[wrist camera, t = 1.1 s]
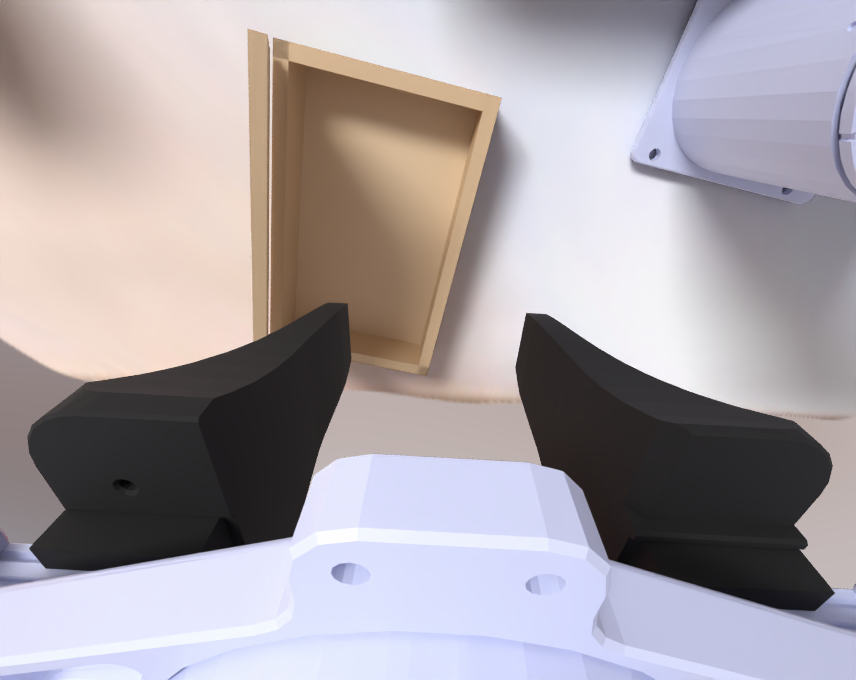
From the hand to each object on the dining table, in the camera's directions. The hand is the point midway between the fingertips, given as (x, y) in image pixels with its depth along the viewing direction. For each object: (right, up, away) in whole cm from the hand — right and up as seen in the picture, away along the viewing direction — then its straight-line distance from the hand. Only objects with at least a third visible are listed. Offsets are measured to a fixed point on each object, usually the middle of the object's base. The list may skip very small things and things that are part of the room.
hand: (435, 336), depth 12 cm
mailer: (-3, +6, +9) cm, 11 cm away
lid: (-6, +3, +3) cm, 8 cm away
